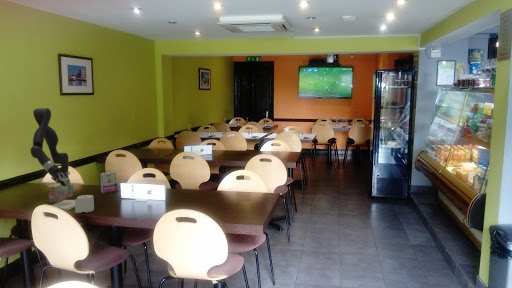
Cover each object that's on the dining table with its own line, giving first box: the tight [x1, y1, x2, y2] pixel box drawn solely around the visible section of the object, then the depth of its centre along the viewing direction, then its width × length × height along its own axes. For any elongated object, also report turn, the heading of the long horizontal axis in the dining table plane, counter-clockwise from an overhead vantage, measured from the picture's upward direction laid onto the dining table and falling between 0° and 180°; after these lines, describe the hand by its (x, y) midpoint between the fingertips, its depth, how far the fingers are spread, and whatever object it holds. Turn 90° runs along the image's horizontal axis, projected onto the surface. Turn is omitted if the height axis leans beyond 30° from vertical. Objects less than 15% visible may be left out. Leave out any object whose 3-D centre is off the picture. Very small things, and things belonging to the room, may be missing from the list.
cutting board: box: [53, 199, 75, 211], centre depth 307 cm, size 20×16×2 cm
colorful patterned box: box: [47, 182, 74, 203], centre depth 327 cm, size 21×6×12 cm, turn 169°
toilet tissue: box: [74, 194, 95, 214], centre depth 293 cm, size 11×12×10 cm
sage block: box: [60, 178, 71, 191], centre depth 305 cm, size 5×5×8 cm
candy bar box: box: [99, 171, 117, 194], centre depth 347 cm, size 11×5×16 cm, turn 129°
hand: (67, 184), depth 305 cm, fingers closed on sage block, 5 cm apart
